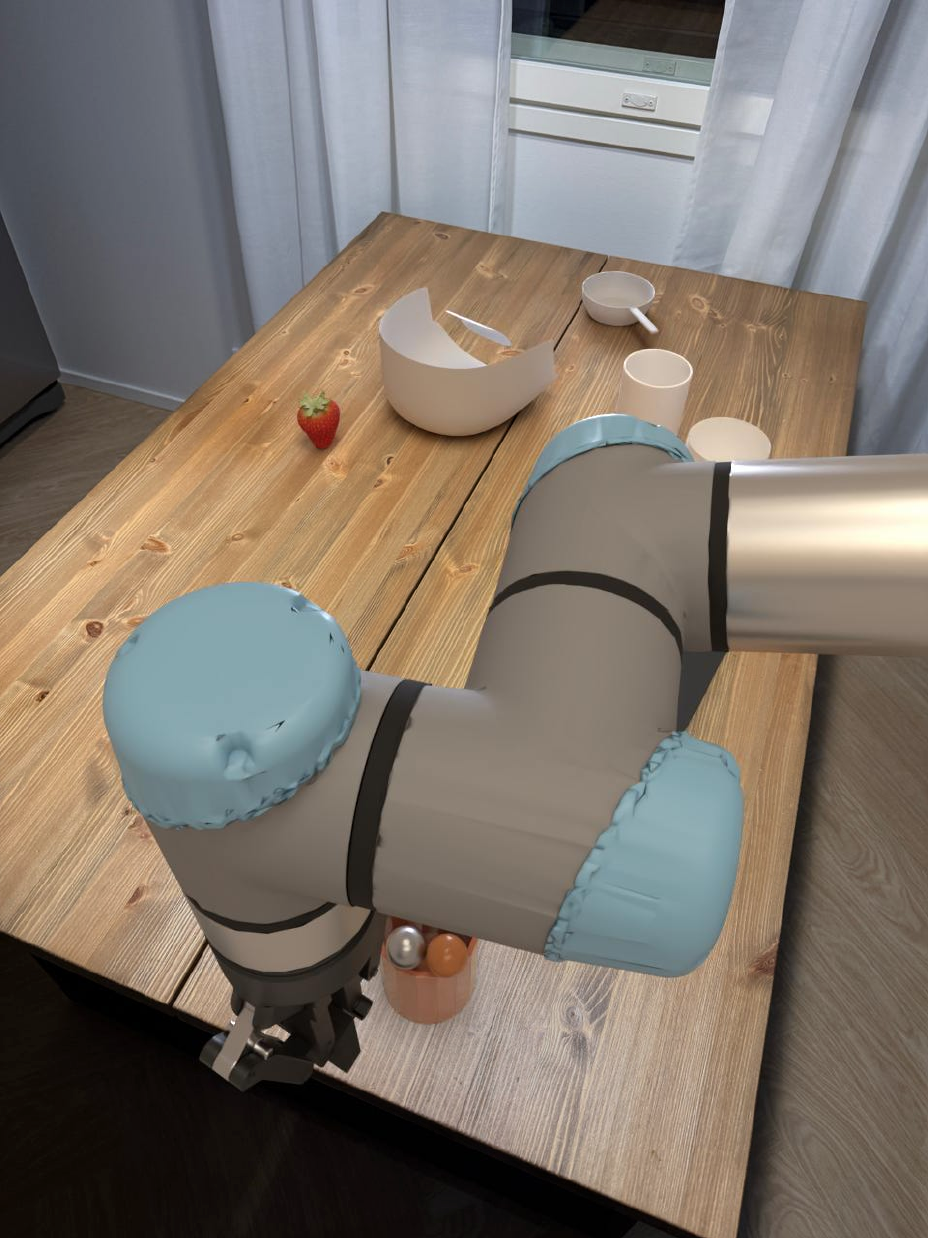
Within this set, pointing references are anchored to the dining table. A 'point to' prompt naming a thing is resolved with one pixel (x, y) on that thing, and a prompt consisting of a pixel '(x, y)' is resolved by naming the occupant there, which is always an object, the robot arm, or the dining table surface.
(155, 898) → the dining table surface
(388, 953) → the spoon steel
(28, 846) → the dining table surface
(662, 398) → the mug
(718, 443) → the cup
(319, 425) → the fruit
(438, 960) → the brown piece
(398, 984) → the spoon cup
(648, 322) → the small pan
